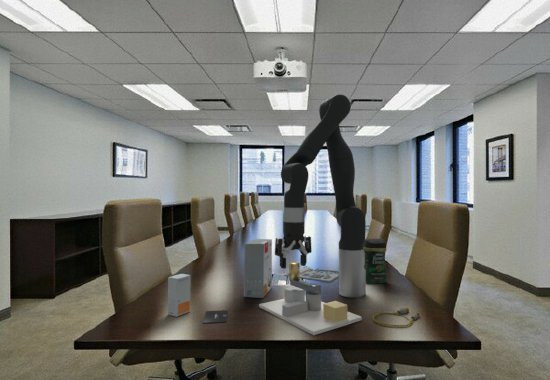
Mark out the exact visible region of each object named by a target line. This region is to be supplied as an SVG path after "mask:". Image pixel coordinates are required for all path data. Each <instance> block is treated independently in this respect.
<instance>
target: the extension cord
mask: <svg viewBox="0 0 550 380" xmlns="http://www.w3.org/2000/svg"><path fill="white" fill-rule="evenodd" d="M409 312H410V309H409V307H401V308H400V309H398V310H396V311H395V312H392V313H391V312H378V313H376V314H374V315H373V316H372V321H373V322H374V323H376V325H379V326H382V327H385V328H386V327H387V328H393V329H394V328H395V329H397V328H399V329H401V328H403V329H405V328H406V329H407V328H410V327H412V325H413V321H416V320H417V319H418V318H419V316H420V313H419V312H417V311H414V312H412V314H411V315H410V316H411V317H410V318H411V319H410V318H408V317H406V316H404V315H405V314H407V313H409ZM381 315H393V316H394V315H395V316H398V317H402V318H404V319H406V320H408V321H409V323H407V324H390V323H384V322H380V321H377V320H376V319H375V318H376V317H378V316H381Z"/></svg>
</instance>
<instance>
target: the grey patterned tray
mask: <svg viewBox="0 0 550 380" xmlns="http://www.w3.org/2000/svg"><path fill="white" fill-rule="evenodd" d="M328 271H330V272H328ZM336 272H337V273H336ZM284 277H289V272H288V273H285V274H284ZM300 279H301V280H309V281H317V282H323V283H329V284H330V283H331V282H333V281H335V280H337V279H339V270H337V269H336V270H335V269H327V268H315V269H313V268H312V267H310V266H301V267H300Z"/></svg>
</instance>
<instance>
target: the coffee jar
mask: <svg viewBox="0 0 550 380" xmlns="http://www.w3.org/2000/svg"><path fill="white" fill-rule="evenodd" d="M387 250H388V248H387V242H386V240H385V239H383V238H365V242H364V268H365V270H366V283H369V284H385V283H386V282H387V281H388V280H387V279H388V278H387V277H388V276H387V267H386V252H387Z"/></svg>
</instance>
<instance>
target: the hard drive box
mask: <svg viewBox="0 0 550 380" xmlns="http://www.w3.org/2000/svg"><path fill="white" fill-rule="evenodd" d="M243 246H244V247H243V248H244V251H243V253H244V255H243V257H244V259H243V261H244V262H243V263H244V265H243V297H244V298H256V299H257V298H258V299H263V298H264V297H265V296H266V295H267V294H268V292H269V291H271V289H272V287H273V282H272V281H273V261H272V260H273V239H267V238H254V239H252V240H250V241H248V242H245V243H244V245H243Z"/></svg>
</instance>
